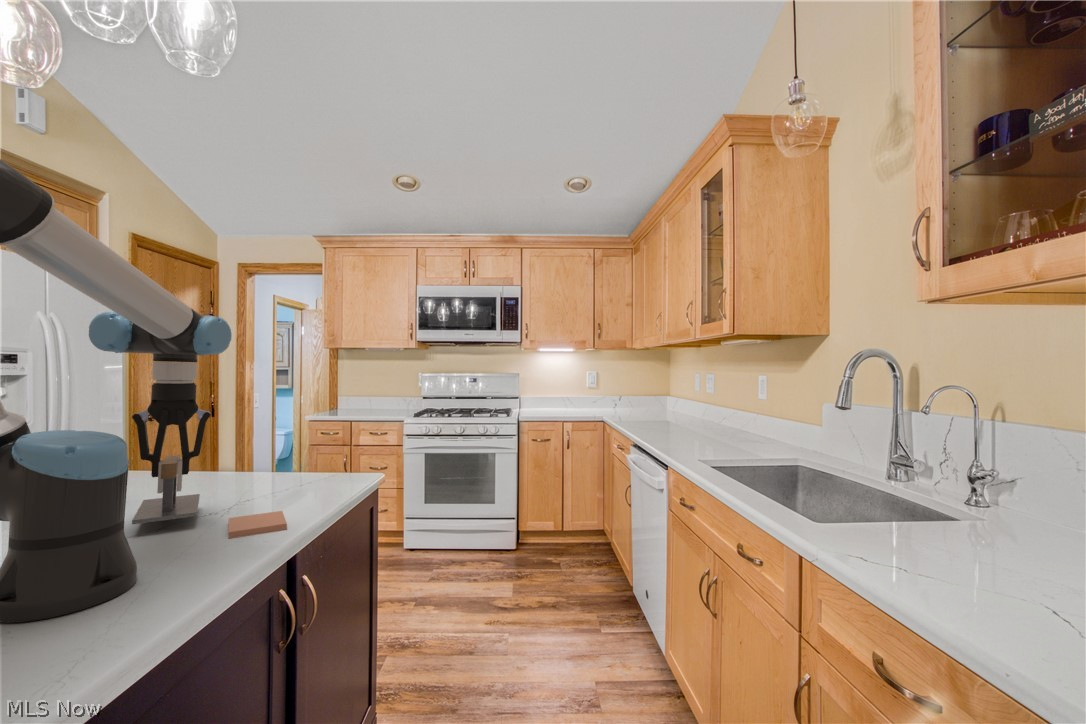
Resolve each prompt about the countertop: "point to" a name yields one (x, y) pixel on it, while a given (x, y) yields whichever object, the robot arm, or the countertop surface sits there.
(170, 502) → the trowel
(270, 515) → the tile
